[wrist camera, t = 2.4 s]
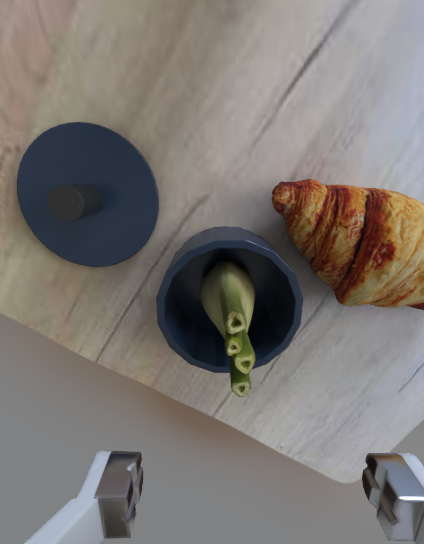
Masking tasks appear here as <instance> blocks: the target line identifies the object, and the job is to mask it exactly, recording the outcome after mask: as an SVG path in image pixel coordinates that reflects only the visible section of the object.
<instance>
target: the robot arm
mask: <svg viewBox="0 0 424 544" xmlns="http://www.w3.org/2000/svg"><path fill="white" fill-rule="evenodd" d="M141 460H142V458H141V452H128V451H127V452H126V451H98V452H97V453H96V455H95V457H94V459H93V461H92V463H91V466H90V468H89V470H88V473H87V475H86V477H85V479H84V482H83V484H82V486H81V489H80V491H79V493H78V496H77V498H72V499H71V500H70V501H69V502H67V504H65V505H64V506H63V507H62V508H61V509H60V510H59V511H58V512H57V513H56V514H55V515H54V516H52V517H51V518H50V519H49V520H48V521H47V522H46V523H45V524H44V525H43V526H42V527H41V528H40V529H39V530H38V531H36V532H35V533H34V534H33V535H32V536H31V537H30V538H29V539H28V540H27V541H26V542H25V543H24V544H102V543H103V542H104V539H105V538H131V534H132V530H133V526H134V522H135V517H136V509H135V505H136V504H137V503H138V501H139V500H140V496H141V491H142V484H143V469H142V467H141V466H140V464H141ZM365 461H366V463H367V465H368V467H366V468H365V469H364V470H363V475H362V481H363V488H364V490H365V494H366V496H367V498H368V500H369V502H370V503H371V504H372V505H373V506H374V507H375V508H377V509H378V511H377V519H378V521H379V523H380V525H381V527H382V529H383V531H384V533H385V535H386V537H387V539H388V540H395V541H415V544H424V467H423V465H422V464H421V462H420V461H419V460H418V458H417V457H416V456H415V455H413V454H411V453H407V454H406V453H397V454H396V453H369V454H368V455H367V456H366V460H365Z"/></svg>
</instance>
